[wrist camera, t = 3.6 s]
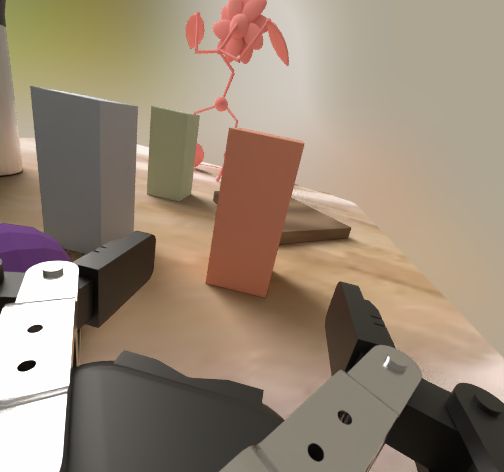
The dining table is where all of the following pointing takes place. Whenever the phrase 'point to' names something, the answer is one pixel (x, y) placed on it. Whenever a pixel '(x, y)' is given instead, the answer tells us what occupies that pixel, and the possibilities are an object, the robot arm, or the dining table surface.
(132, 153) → the blue grey block
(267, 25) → the figurine
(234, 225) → the red block
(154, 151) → the olive block
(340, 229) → the walnut board
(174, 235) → the dining table surface
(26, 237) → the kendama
